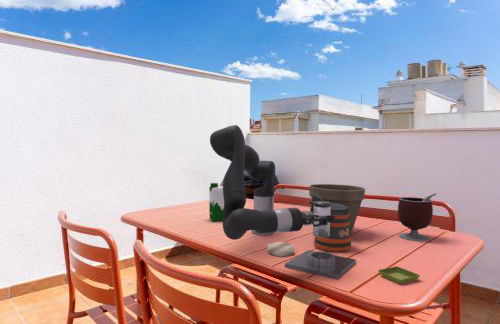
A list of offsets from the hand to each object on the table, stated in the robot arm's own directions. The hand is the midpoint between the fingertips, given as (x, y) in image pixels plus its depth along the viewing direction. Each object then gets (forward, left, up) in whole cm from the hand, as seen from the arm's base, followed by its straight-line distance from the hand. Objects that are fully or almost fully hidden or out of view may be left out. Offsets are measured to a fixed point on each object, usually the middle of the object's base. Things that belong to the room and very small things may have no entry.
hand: (327, 216), depth 117 cm
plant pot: (-13, +43, -16) cm, 48 cm away
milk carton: (-74, +31, -16) cm, 82 cm away
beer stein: (-8, +21, -16) cm, 28 cm away
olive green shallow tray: (+23, +1, -17) cm, 28 cm away
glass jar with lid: (-1, -2, -6) cm, 7 cm away
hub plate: (-1, -2, -16) cm, 16 cm away
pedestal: (-19, +2, -16) cm, 25 cm away
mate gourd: (+19, +56, -16) cm, 61 cm away
